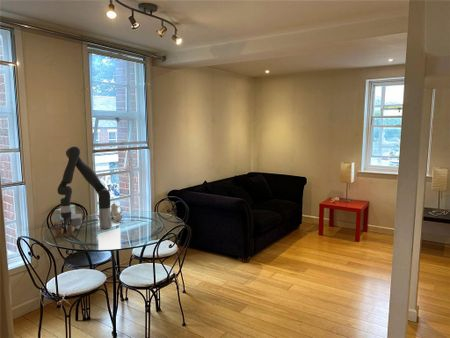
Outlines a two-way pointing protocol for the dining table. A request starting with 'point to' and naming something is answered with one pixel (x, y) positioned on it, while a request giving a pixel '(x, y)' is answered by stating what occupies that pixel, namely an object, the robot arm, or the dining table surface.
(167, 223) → the dining table surface
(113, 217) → the chinaware
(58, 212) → the snack box
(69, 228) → the deck
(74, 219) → the slab
